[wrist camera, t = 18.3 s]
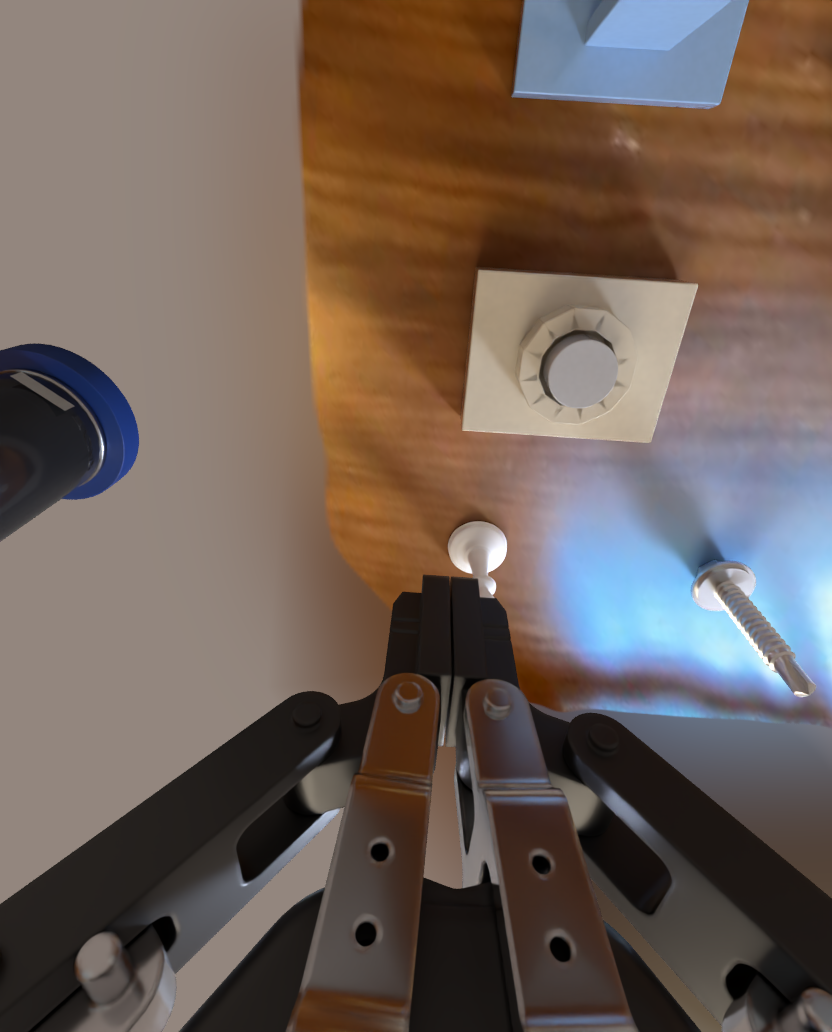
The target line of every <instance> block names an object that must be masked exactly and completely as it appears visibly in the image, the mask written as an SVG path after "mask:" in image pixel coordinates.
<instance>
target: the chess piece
mask: <svg viewBox="0 0 832 1032" xmlns="http://www.w3.org/2000/svg"><path fill="white" fill-rule="evenodd" d="M448 552H449V555H450V558H451V560H452V562H453V563H454V565H455V566H456V567H458V568H459V569H460V570H462V571H464V572H467V573H471V574H473V578H478V583H479V592H480V597H485V598H494V597H493V596H492V595H493V594H494V592H495V590H496V583H495V581H494V580H493V579H492V578H491V577H489V576H488V572H490V571H492V570H494V569H495V568H497V567H498V566H499V565H500V564H501V563H502V562H503V560H504V558H505V556H506V552H507V541H506V538H505V536H504V534H503V532H502V531H501V530H500V529H499V528H498V527H496V526H495V525H493V524H490V523H487V522H482V521H474V522H469V523H466V524H464V525H462V526H460V527H458V528H457V529H456V530H455V531H454V532H453V533H452V535H451V536H450V539H449V542H448Z"/></svg>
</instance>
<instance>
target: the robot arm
mask: <svg viewBox="0 0 832 1032" xmlns="http://www.w3.org/2000/svg"><path fill="white" fill-rule="evenodd" d="M106 456H107V441H106V436H105V432H104V429H103V427H102V424H101V422H100V420H99V418H98V416H97V415H96V413H95V412H94V410H93V409H92V407H91V406H90V405H89V404H88V403H87V401H86V400H85V399H84V398H83V397H82V396H81V395H80V394H79V393H78V392H77V391H75V390H74V389H73V388H72V387H70V386H69V385H67V384H66V383H64V382H63V381H61V380H59V379H58V378H56V377H54V376H52V375H49V374H47V373H44V372H41V371H38V370H33V369H26V368H13V369H8V370H4V371H1V372H0V542H1V541H2V540H3V539H5V538H6V537H8V536H9V535H10V534H12V533H13V532H15V531H16V530H17V529H19V528H20V527H22V526H23V525H24V524H26V523H28V522H29V521H30V520H32V519H33V518H35V517H36V516H37V515H39V514H40V513H42V512H43V511H45V510H46V509H47V508H49V507H50V506H52V505H53V504H54V503H56V502H57V501H59V500H60V499H62V498H63V497H65V496H66V495H67V494H69V493H70V492H72V491H73V490H74V489H76V488H77V487H79V486H81V485H84V484H85V483H87V482H88V481H90V480H91V479H93V478H94V477H95V476H96V475H97V474H98V473H99V472H100V471H101V469H102V467H103V466H104V463H105V460H106ZM508 627H509V626H508V620H507V614H506V611H505V609H504V608H503V607H502V605H501V604H500V603H499V601H498V600H497V599H496V598H485V597H480V592H479V583H478V578H465V577H451V580H450V581H449V576H436V575H423V582H422V593H413V592H402V593H401V595H400V596H399V597H398V598H397V600H396V601H395V602H394V603H393V610H392V618H391V626H390V633H389V642H388V649H387V656H386V664H385V672H384V677H383V680H382V683H381V684H380V686H379V688H378V689H377V690H375V691H374V692H373V693H372V694H371V695H369V696H367V697H366V698H363V699H361V700H358V701H354V702H350V703H345V704H341V705H338V704H337V702H336V701H335V700H334V699H333V698H332V697H330V696H329V695H327V694H324V693H321V692H315V691H307V692H301V693H298V694H295V695H293V696H291V697H289V698H288V699H286V700H285V701H283V702H282V703H280V704H279V705H278V706H276V707H275V708H273V709H272V710H271V711H270V712H268V713H267V714H265V715H264V716H262V717H261V718H260V719H258V720H257V721H255V722H254V723H253V724H251V725H250V726H248V727H247V728H246V729H244V730H243V731H241V732H240V733H239V734H237V735H236V736H235V737H233V738H232V739H230V740H229V741H227V742H226V743H225V744H223V745H222V746H220V747H219V748H218V749H216V750H215V751H213V752H212V753H211V754H210V755H208V756H207V757H205V758H204V759H202V760H201V761H199V762H198V763H197V764H195V765H194V766H193V767H191V768H190V769H188V770H187V771H186V772H184V773H183V774H181V775H180V776H179V777H177V778H176V779H174V780H173V781H172V782H170V783H169V784H168V785H166V786H165V787H163V788H162V789H161V790H159V791H158V792H156V793H155V794H153V795H152V796H151V797H149V798H148V799H146V800H145V801H144V802H142V803H141V804H140V805H138V806H137V807H135V808H134V809H132V810H131V811H130V812H128V813H127V814H126V815H124V816H123V817H121V818H120V819H119V820H117V821H116V822H114V823H113V824H112V825H110V826H109V827H107V828H106V829H105V830H103V831H102V832H100V833H99V834H98V835H96V836H95V837H93V838H92V839H91V840H89V841H88V842H86V843H85V844H84V845H82V846H81V847H79V848H78V849H77V850H75V851H74V852H72V853H71V854H70V855H68V856H67V857H65V858H64V859H63V860H61V861H60V862H58V863H57V864H56V865H54V866H53V867H52V868H50V869H49V870H47V871H46V872H45V873H43V874H42V875H40V876H39V877H38V878H36V879H35V880H33V881H32V882H31V883H29V884H28V885H26V886H25V887H24V888H22V889H21V890H20V891H18V892H17V893H15V894H14V895H12V896H11V897H10V898H8V899H7V900H5V901H4V902H3V903H1V904H0V1032H162V1031H163V1029H164V1027H165V1026H166V1023H167V1021H168V1019H169V1017H170V1015H171V1012H172V1009H173V1006H174V1002H175V997H176V977H175V974H176V973H177V972H178V971H179V970H180V969H181V968H182V967H183V966H184V965H185V964H186V963H187V962H188V961H189V960H190V959H191V958H192V957H193V956H194V955H195V954H196V953H197V952H198V951H199V950H200V949H201V948H202V947H203V946H204V945H205V944H206V943H207V942H208V941H209V940H210V939H211V938H212V937H213V936H214V935H215V934H216V933H217V932H218V931H219V930H220V929H221V928H222V927H223V926H225V924H227V923H228V922H229V921H230V920H231V919H232V917H234V916H235V915H236V914H237V913H238V912H239V911H240V910H241V909H242V908H243V907H244V906H245V905H246V904H247V903H248V902H249V901H250V900H251V899H252V898H253V897H254V896H255V895H256V894H257V893H258V892H259V891H260V890H261V889H262V888H263V887H264V886H265V885H266V884H267V883H268V882H269V881H270V880H271V879H272V878H273V877H274V876H275V875H276V874H277V873H278V872H279V871H280V870H281V869H282V868H283V867H284V866H285V865H286V864H287V863H288V862H289V861H290V860H291V859H293V858H294V857H295V856H296V854H297V853H299V852H300V850H302V849H303V848H304V847H305V845H306V844H308V843H309V842H310V841H311V840H312V839H313V838H314V837H315V836H316V835H317V834H318V833H319V832H320V831H321V830H322V829H323V828H324V827H325V826H326V825H327V824H328V823H329V822H330V821H331V820H332V819H333V818H334V817H335V816H336V815H337V813H338V811H339V810H340V808H343V807H345V808H344V812H343V816H342V820H341V824H340V828H339V833H338V837H337V840H336V845H335V849H334V853H333V857H332V861H331V865H330V869H329V873H328V877H327V881H326V885H325V888H322V889H320V890H318V891H316V892H314V893H312V894H310V895H308V896H307V897H305V898H304V899H302V900H301V901H299V902H298V903H297V904H295V905H294V906H293V907H292V908H291V909H289V910H288V911H287V912H286V913H285V914H284V915H282V916H281V918H280V919H279V920H278V921H277V922H276V923H275V924H274V925H273V926H272V927H271V928H270V930H269V931H268V932H267V933H266V934H265V935H264V936H263V937H262V938H261V940H260V941H259V942H258V943H257V944H256V945H255V946H254V947H253V949H252V950H251V951H250V952H249V953H248V954H247V955H246V957H245V958H244V959H243V960H242V961H241V962H240V963H239V964H238V966H237V967H236V968H235V969H234V970H233V971H232V972H231V973H230V975H229V976H228V977H227V978H226V979H225V980H224V981H223V982H222V984H221V985H220V986H219V987H218V988H217V989H216V990H215V991H214V993H213V994H212V995H211V996H210V997H209V998H208V999H207V1000H206V1002H205V1003H204V1004H203V1005H202V1006H201V1007H200V1008H199V1009H198V1011H197V1012H196V1013H195V1014H194V1015H193V1016H192V1017H191V1018H190V1020H189V1021H188V1022H187V1023H186V1024H185V1025H184V1026H183V1027H182V1029H181V1030H180V1031H179V1032H701V1031H700V1029H699V1028H698V1027H697V1026H696V1025H695V1023H694V1022H693V1021H692V1020H691V1019H690V1017H689V1016H688V1015H687V1014H686V1012H685V1011H684V1010H683V1009H682V1007H681V1006H680V1005H679V1004H678V1003H677V1001H676V1000H675V999H674V998H673V996H672V995H671V994H670V993H669V992H668V991H667V989H666V988H665V987H664V985H663V984H662V983H661V982H660V981H659V979H658V978H657V977H656V976H655V974H654V973H653V972H652V971H651V969H650V968H649V967H648V966H647V965H646V963H645V962H644V961H643V960H642V959H641V957H640V956H639V955H638V954H637V952H636V951H635V950H634V949H633V948H632V947H631V945H630V944H629V943H628V942H627V941H626V940H625V939H624V938H623V937H622V936H621V935H620V934H619V933H618V932H617V931H616V930H615V929H613V928H612V927H611V926H610V925H609V924H608V923H606V922H605V921H604V920H603V919H602V915H601V912H600V908H599V905H598V902H597V898H596V895H595V892H594V888H593V885H592V881H591V879H592V880H593V881H594V882H595V883H596V885H597V886H598V887H599V888H600V889H601V890H602V891H603V892H604V894H605V895H606V896H607V897H608V898H609V899H610V900H611V902H612V903H613V904H614V905H615V906H616V907H617V908H618V909H619V911H620V912H621V913H622V914H623V915H624V916H625V917H626V918H627V919H628V921H629V922H630V923H631V924H632V925H633V926H634V927H635V929H636V930H637V931H638V932H639V933H640V934H641V935H642V936H643V938H644V939H645V940H646V941H647V942H648V943H649V944H650V946H651V947H652V948H653V949H654V950H655V951H656V952H657V953H658V955H659V956H660V957H661V958H662V959H663V960H664V961H665V962H666V964H667V965H668V966H669V967H670V968H671V969H672V970H673V971H674V973H675V974H676V975H677V976H678V977H679V978H680V979H681V981H682V982H683V983H684V984H685V985H686V986H687V987H688V988H689V989H690V991H691V992H692V993H693V994H694V995H695V996H696V997H697V999H698V1000H699V1001H700V1002H701V1003H702V1004H703V1005H704V1006H705V1008H706V1009H707V1010H708V1011H709V1012H710V1013H711V1014H712V1016H713V1017H714V1018H715V1019H716V1020H717V1021H718V1022H719V1023H720V1025H721V1026H722V1032H832V898H830V897H829V896H828V895H827V894H826V893H824V892H823V891H822V890H821V889H820V888H818V887H817V886H816V885H815V884H814V883H812V882H811V881H810V880H809V879H808V878H806V877H805V876H804V875H803V874H802V873H800V872H799V871H798V870H797V869H795V868H794V867H793V866H792V865H791V864H789V863H788V862H787V861H786V860H784V859H783V858H782V857H781V856H780V855H778V854H777V853H776V852H775V851H774V850H773V849H771V848H770V847H769V846H768V845H767V844H765V843H764V842H763V841H762V840H760V839H759V838H758V837H757V836H756V835H754V834H753V833H752V832H751V831H750V830H748V829H747V828H746V827H745V826H744V825H742V824H741V823H740V822H739V821H737V820H736V819H735V818H734V817H733V816H732V815H730V814H729V813H728V812H727V811H725V810H724V809H723V808H722V807H720V806H719V805H718V804H717V803H716V802H714V801H713V800H712V799H711V798H710V797H709V796H707V795H706V794H705V793H704V792H702V791H701V790H700V789H699V788H698V787H696V786H695V785H694V784H693V783H692V782H691V781H689V780H688V779H687V778H685V777H684V776H683V775H682V774H681V773H680V772H679V771H677V770H676V769H675V768H674V767H672V766H671V765H670V764H669V763H668V762H666V761H665V760H664V759H663V758H662V757H660V756H659V755H658V754H657V753H656V752H654V751H653V750H652V749H650V748H649V747H648V746H647V745H646V744H645V743H644V742H642V741H641V740H640V739H639V738H637V737H636V736H635V735H634V734H633V733H631V732H630V731H629V730H628V729H627V728H625V727H624V726H623V725H622V724H620V723H619V722H617V721H616V720H614V719H612V718H610V717H608V716H605V715H602V714H597V713H585V714H581V715H579V716H577V717H575V718H574V719H573V720H572V721H571V722H570V723H569V722H566V721H563V720H560V719H558V718H555V717H552V716H549V715H547V714H544V713H543V712H541V711H539V710H537V709H536V708H535V707H533V706H532V705H531V704H530V703H529V702H528V700H527V698H526V697H525V695H524V694H523V693H522V691H520V688H519V684H518V679H517V673H516V667H515V661H514V655H513V649H512V643H511V641H510V639H511V637H510V631H509V629H508ZM445 726H446V746H448V747H456V768H455V775H454V785H455V795H456V804H457V815H458V824H459V835H460V844H461V854H462V867H463V881H462V888H461V889H453V888H450V887H447V886H444V885H442V884H439V883H437V882H434V881H431V880H429V879H426V878H424V877H423V875H424V865H425V854H426V843H427V834H428V823H429V812H430V802H431V792H432V777H433V773H434V770H435V766H436V757H437V749H438V746H443V740H444V733H445Z"/></svg>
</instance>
